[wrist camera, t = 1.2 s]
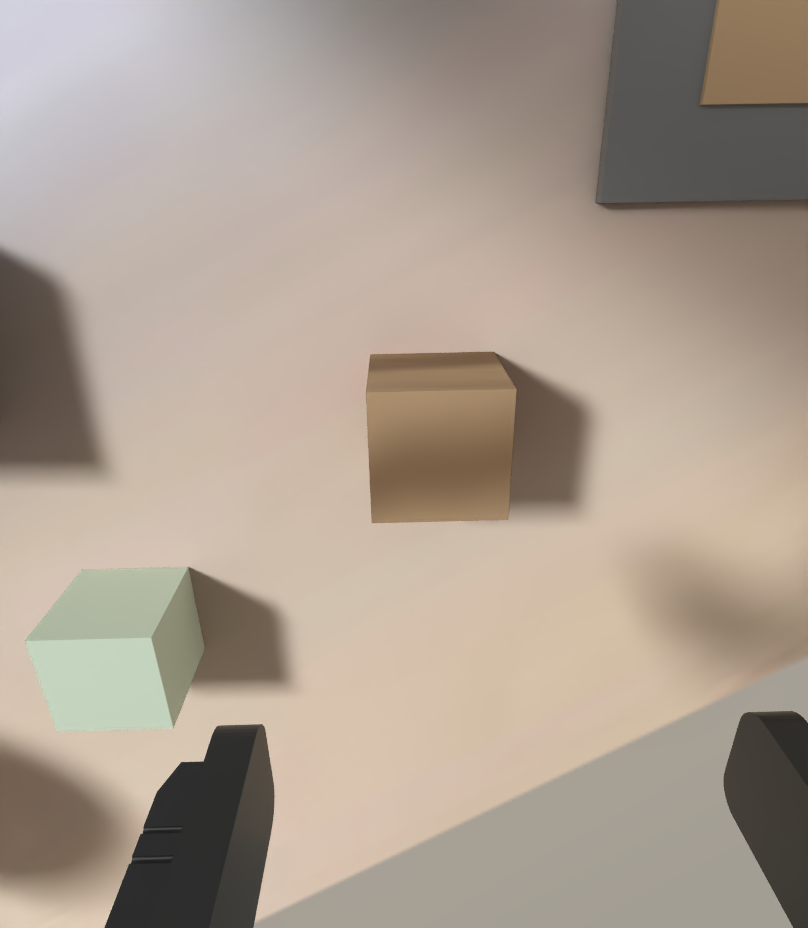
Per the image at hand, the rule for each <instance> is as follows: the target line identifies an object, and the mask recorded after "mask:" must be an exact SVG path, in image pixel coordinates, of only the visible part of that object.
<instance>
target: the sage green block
mask: <svg viewBox="0 0 808 928" xmlns="http://www.w3.org/2000/svg"><path fill="white" fill-rule="evenodd" d="M25 643H26V646H27V649H28V652H29V655H30V657H31V660H32V663H33V666H34V669H35V671H36V674H37V677H38V680H39V683H40V685H41V688H42V691H43V694H44V697H45V699H46V702H47V705H48V708H49V711H50V713H51V716H52V719H53V722H54V725H55V727H56V730H57V732H65V731H99V730H133V729H167V728H174V725H175V723H176V720H177V718H178V715H179V713H180V710H181V708H182V705H183V703H184V700H185V698H186V695H187V692H188V690H189V687H190V685H191V682H192V680H193V677H194V675H195V672H196V670H197V667H198V665H199V662H200V660H201V657H202V655H203V652H204V650H205V647H204V642H203V637H202V632H201V627H200V622H199V617H198V612H197V607H196V602H195V597H194V592H193V587H192V582H191V577H190V572H189V567H161V568H123V569H86V570H81V571H80V573H79V574H78V575H77V576H76V578H75V579H74V580H73V581H72V583H71V584H70V585H69V586H68V588H67V589H66V590H65V591H64V593H63V594H62V595H61V596H60V598H59V599H58V600H57V601H56V603H55V604H54V605H53V606H52V608H51V609H50V610H49V611H48V613H47V614H46V615H45V616H44V618H43V619H42V620H41V621H40V623H39V624H38V625H37V626H36V628H35V629H34V630H33V631H32V633H31V634H30V635H29V636H28V638H27V639H26V640H25Z"/></svg>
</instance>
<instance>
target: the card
mask: <svg viewBox="0 0 808 928" xmlns="http://www.w3.org/2000/svg"><path fill="white" fill-rule="evenodd" d="M805 199H808V0H617V9H616V19H615V28H614V37H613V46H612V56H611V65H610V74H609V83H608V93H607V102H606V111H605V120H604V129H603V139H602V148H601V157H600V166H599V176H598V185H597V194H596V203H642V202H696V201H751V200H805Z"/></svg>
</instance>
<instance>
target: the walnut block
mask: <svg viewBox="0 0 808 928" xmlns="http://www.w3.org/2000/svg"><path fill="white" fill-rule="evenodd" d="M516 390H517V389H516V387H515V386H514V384H513V382H512V381H511V379H510V378H509V376H508V374H507V373H506V371H505V370H504V368H503V366H502V365H501V363H500V361H499V360H498V358H497V357H496V355H495V353H494V352H462V353H417V354H372V355H370V362H369V371H368V380H367V388H366V404H367V426H368V448H369V471H370V493H371V516H372V523H397V522H438V521H479V520H508V513H509V498H510V483H511V467H512V452H513V437H514V421H515V406H516Z"/></svg>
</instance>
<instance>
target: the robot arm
mask: <svg viewBox="0 0 808 928" xmlns="http://www.w3.org/2000/svg"><path fill="white" fill-rule="evenodd" d="M724 791H725V796H726V799H727V803H728V806H729V809H730V811H731V814H732V815H733V818H734V819H735V821H736V823H737V825H738V827H739V829H740V830H741V832H742V834H743V836H744V838H745V840H746V841H747V843H748V845H749V847H750V849H751V851H752V852H753V854H754V856H755V858H756V860H757V862H758V864H759V865H760V867H761V869H762V871H763V873H764V874H765V876H766V878H767V880H768V882H769V884H770V885H771V887H772V889H773V891H774V893H775V895H776V897H777V898H778V900H779V902H780V904H781V906H782V908H783V910H784V911H785V913H786V915H787V917H788V918H789V921H790V922H791V924H792V926H793V928H808V723H807V721H806V720H805V719H804V718H803V717H802V716H801V715H799V714H798V713H796V712H793V711H779V712H748V713H745V714H743V716H742V717H741V719H740V722H739V725H738V728H737V732H736V735H735V739H734V742H733V745H732V749H731V752H730V756H729V759H728V762H727V766H726V769H725V773H724ZM273 814H274V783H273V777H272V770H271V764H270V757H269V751H268V745H267V738H266V732H265V728H264V726H263V725H262V724H260V725H224V726H217V727H216V729H215V730H214V732H213V735H212V738H211V741H210V744H209V747H208V750H207V753H206V756H205V759H204V762H181V763H180V764H179V766H178V767H177V768H176V769H175V771H174V772H173V773H172V774H171V775H170V777H169V778H168V779H167V780H166V782H165V783H164V784H163V785H162V787H161V788H160V789H159V790H158V791H157V793H156V796H155V798H154V801H153V804H152V806H151V809H150V811H149V814H148V817H147V819H146V822H145V824H144V830H143V834H141V835H140V837H139V840H138V842H137V845H136V848H135V850H134V853H133V855H132V862H131V864H129V866H128V868H127V871H126V874H125V876H124V879H123V881H122V884H121V887H120V889H119V892H118V894H117V897H116V899H115V902H114V905H113V907H112V910H111V912H110V915H109V918H108V920H107V923H106V925H105V928H253V926H254V921H255V916H256V910H257V905H258V899H259V894H260V889H261V883H262V878H263V872H264V867H265V862H266V856H267V851H268V845H269V840H270V835H271V829H272V823H273Z"/></svg>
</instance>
